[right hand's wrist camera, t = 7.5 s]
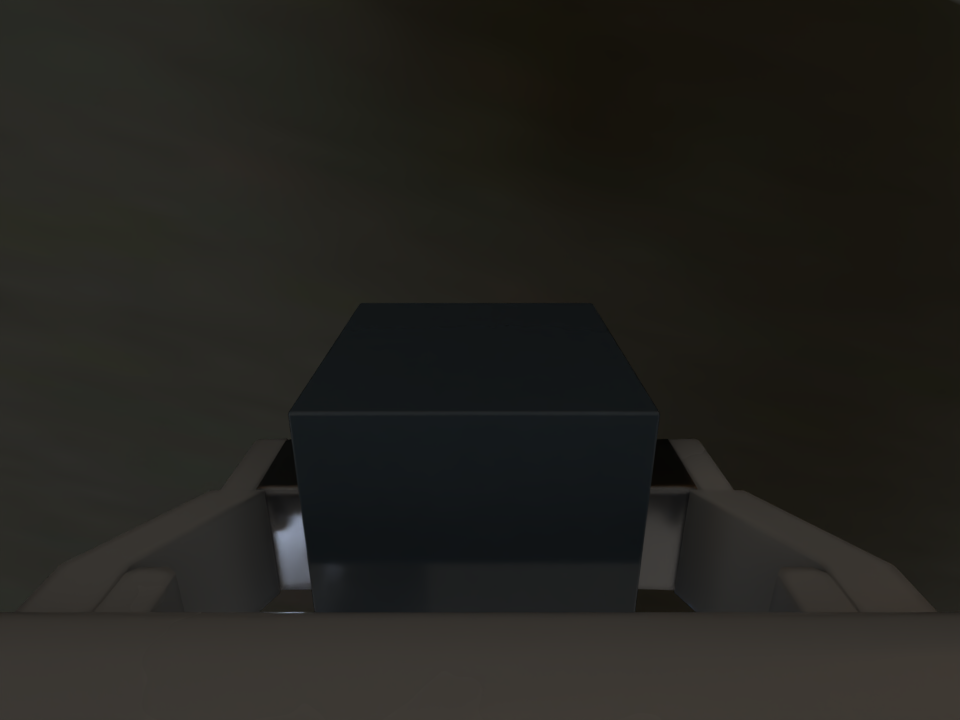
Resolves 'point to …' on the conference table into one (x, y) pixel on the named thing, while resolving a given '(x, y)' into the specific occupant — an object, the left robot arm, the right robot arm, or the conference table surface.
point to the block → (474, 462)
